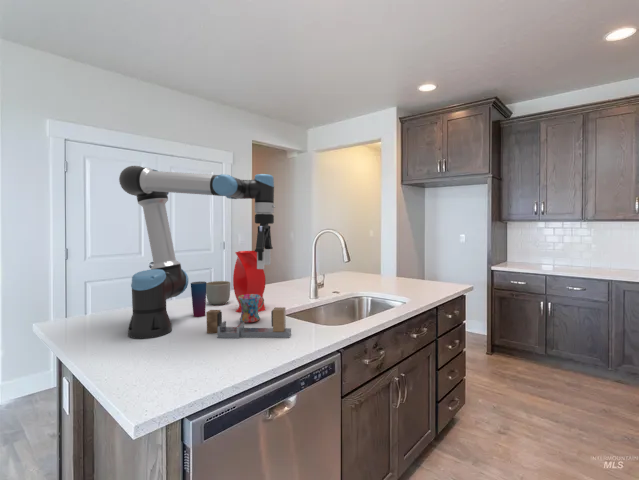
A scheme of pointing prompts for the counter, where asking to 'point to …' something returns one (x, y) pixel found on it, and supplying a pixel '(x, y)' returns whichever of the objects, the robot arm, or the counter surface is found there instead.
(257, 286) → the vase
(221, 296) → the planter
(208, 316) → the block
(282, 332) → the rail
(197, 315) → the cup
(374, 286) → the counter surface
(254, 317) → the mug
